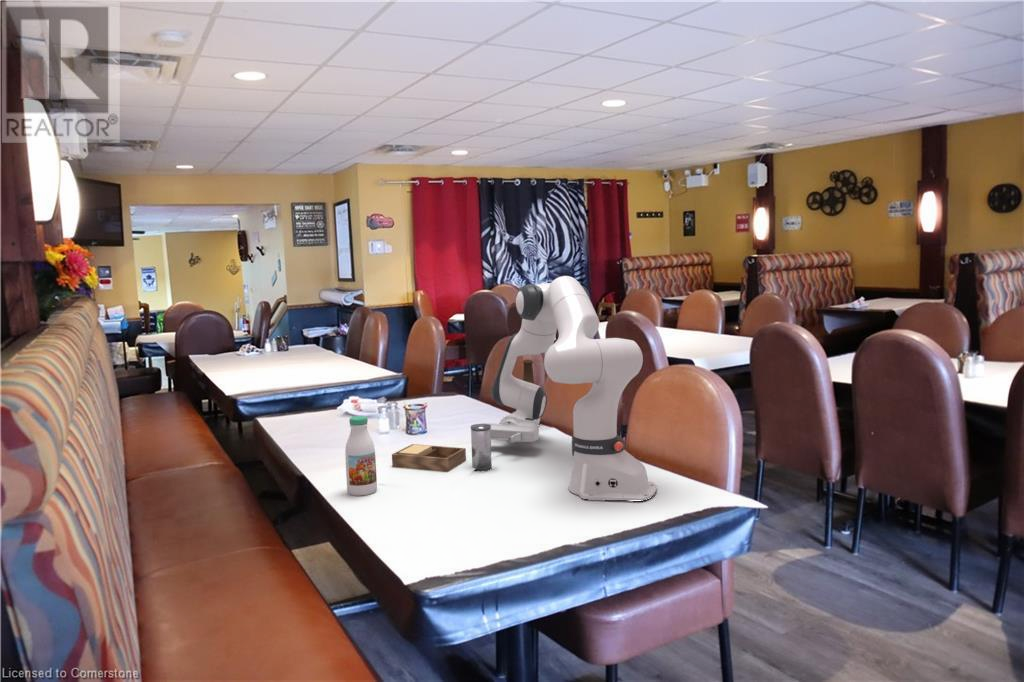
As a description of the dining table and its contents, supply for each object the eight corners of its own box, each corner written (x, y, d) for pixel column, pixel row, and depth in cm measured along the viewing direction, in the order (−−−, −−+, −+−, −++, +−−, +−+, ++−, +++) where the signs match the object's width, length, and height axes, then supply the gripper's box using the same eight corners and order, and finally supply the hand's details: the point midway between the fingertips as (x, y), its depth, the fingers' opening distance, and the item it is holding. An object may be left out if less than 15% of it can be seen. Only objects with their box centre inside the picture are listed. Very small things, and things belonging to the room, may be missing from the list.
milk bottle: (341, 494, 187) (336, 419, 185) (360, 485, 194) (356, 413, 191) (364, 498, 183) (360, 421, 181) (383, 489, 190) (379, 415, 188)
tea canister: (495, 466, 208) (494, 424, 206) (487, 472, 202) (485, 429, 201) (477, 465, 210) (475, 423, 208) (468, 470, 204) (467, 427, 203)
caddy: (466, 463, 212) (465, 448, 212) (447, 474, 201) (447, 459, 201) (413, 458, 219) (412, 444, 218) (392, 469, 208) (391, 454, 207)
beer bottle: (516, 428, 255) (514, 361, 252) (522, 423, 262) (520, 358, 259) (537, 428, 252) (535, 361, 250) (542, 423, 260) (541, 358, 257)
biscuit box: (432, 459, 215) (431, 446, 214) (417, 467, 206) (416, 453, 206) (414, 457, 217) (414, 444, 217) (399, 465, 209) (398, 452, 208)
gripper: (483, 416, 231) (464, 426, 218) (542, 420, 223) (526, 430, 211) (483, 435, 232) (465, 446, 219) (543, 439, 224) (527, 451, 211)
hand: (495, 438), depth 215 cm, fingers open, 8 cm apart
